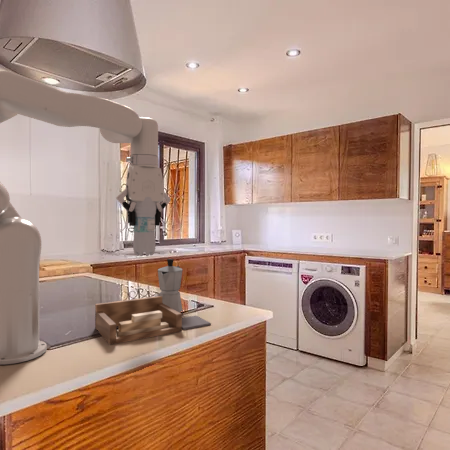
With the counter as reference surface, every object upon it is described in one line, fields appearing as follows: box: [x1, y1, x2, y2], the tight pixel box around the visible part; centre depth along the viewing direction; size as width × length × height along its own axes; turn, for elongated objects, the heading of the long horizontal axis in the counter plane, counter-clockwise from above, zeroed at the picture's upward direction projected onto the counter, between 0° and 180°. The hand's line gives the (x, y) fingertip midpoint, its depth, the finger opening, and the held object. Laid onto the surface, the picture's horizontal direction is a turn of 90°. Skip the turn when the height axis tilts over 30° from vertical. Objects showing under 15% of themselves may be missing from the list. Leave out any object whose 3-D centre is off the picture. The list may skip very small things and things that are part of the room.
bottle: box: [132, 197, 157, 257], centre depth 102 cm, size 7×7×20 cm
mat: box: [182, 315, 212, 331], centre depth 107 cm, size 9×9×1 cm
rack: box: [94, 295, 183, 346], centre depth 101 cm, size 20×15×7 cm
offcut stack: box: [116, 311, 169, 337], centre depth 97 cm, size 14×2×6 cm, turn 123°
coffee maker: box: [157, 258, 184, 313], centre depth 120 cm, size 15×9×18 cm, turn 167°
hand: (144, 225), depth 102 cm, fingers closed on bottle, 6 cm apart
